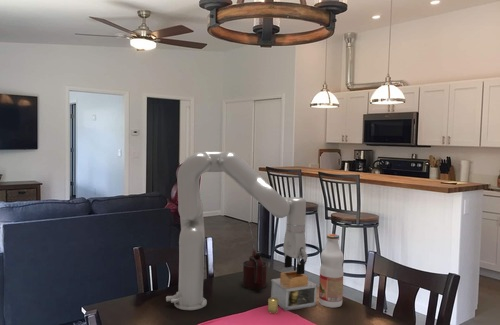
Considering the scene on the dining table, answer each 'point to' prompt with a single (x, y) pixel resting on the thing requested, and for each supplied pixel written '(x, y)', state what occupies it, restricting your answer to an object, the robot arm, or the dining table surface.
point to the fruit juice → (331, 274)
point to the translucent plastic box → (292, 283)
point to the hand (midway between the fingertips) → (294, 270)
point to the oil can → (254, 269)
